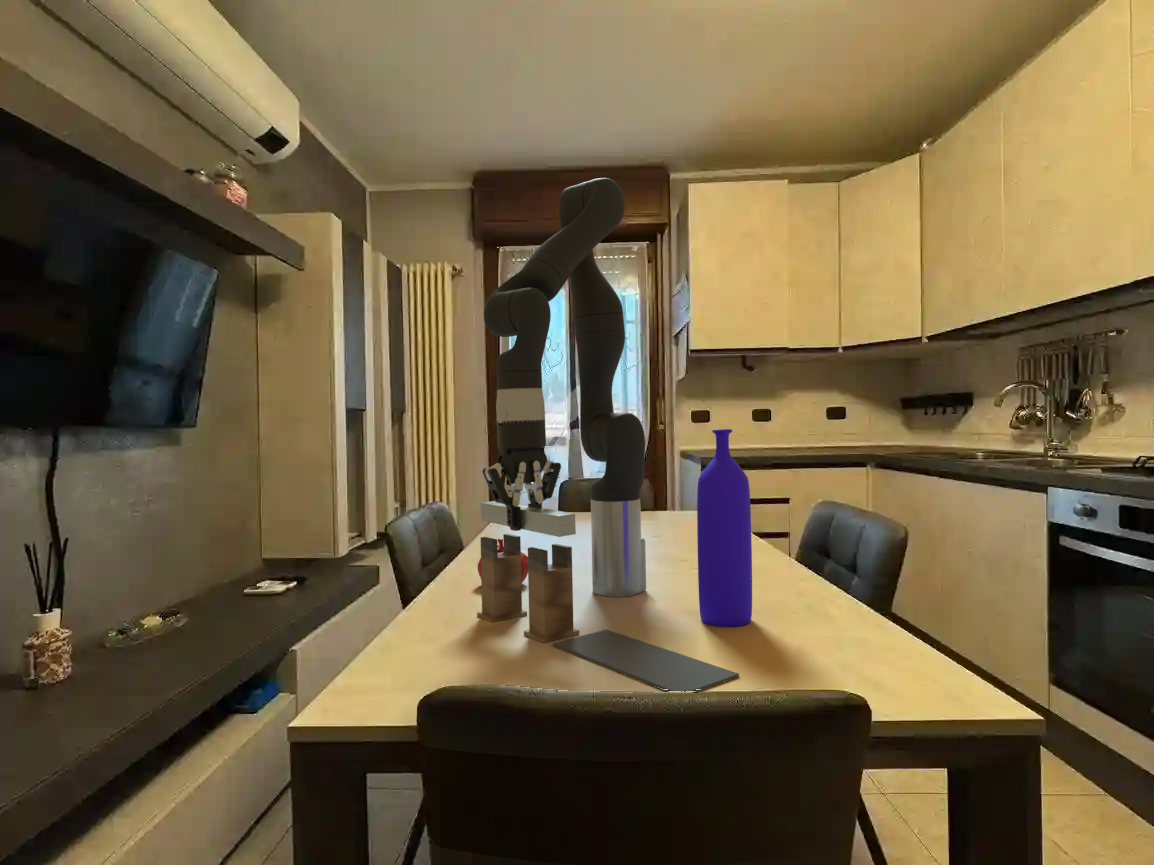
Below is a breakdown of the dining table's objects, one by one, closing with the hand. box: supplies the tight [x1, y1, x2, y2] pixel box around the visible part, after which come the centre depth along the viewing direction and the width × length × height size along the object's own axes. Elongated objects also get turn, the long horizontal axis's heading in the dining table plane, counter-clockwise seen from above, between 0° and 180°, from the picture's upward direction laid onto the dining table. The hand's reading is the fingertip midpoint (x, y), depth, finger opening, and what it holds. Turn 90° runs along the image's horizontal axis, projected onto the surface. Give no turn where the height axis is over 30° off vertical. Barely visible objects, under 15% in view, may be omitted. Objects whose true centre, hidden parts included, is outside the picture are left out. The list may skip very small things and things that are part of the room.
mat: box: [552, 629, 740, 692], centre depth 93 cm, size 10×25×1 cm, turn 38°
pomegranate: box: [477, 538, 528, 584], centre depth 139 cm, size 10×10×9 cm
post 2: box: [523, 543, 580, 644], centre depth 105 cm, size 6×5×13 cm
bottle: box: [696, 428, 753, 628], centre depth 111 cm, size 8×8×30 cm
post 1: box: [476, 533, 528, 623], centre depth 116 cm, size 6×5×13 cm
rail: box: [480, 500, 577, 538], centre depth 111 cm, size 3×22×3 cm, turn 38°
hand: (525, 528), depth 111 cm, fingers closed on rail, 3 cm apart
